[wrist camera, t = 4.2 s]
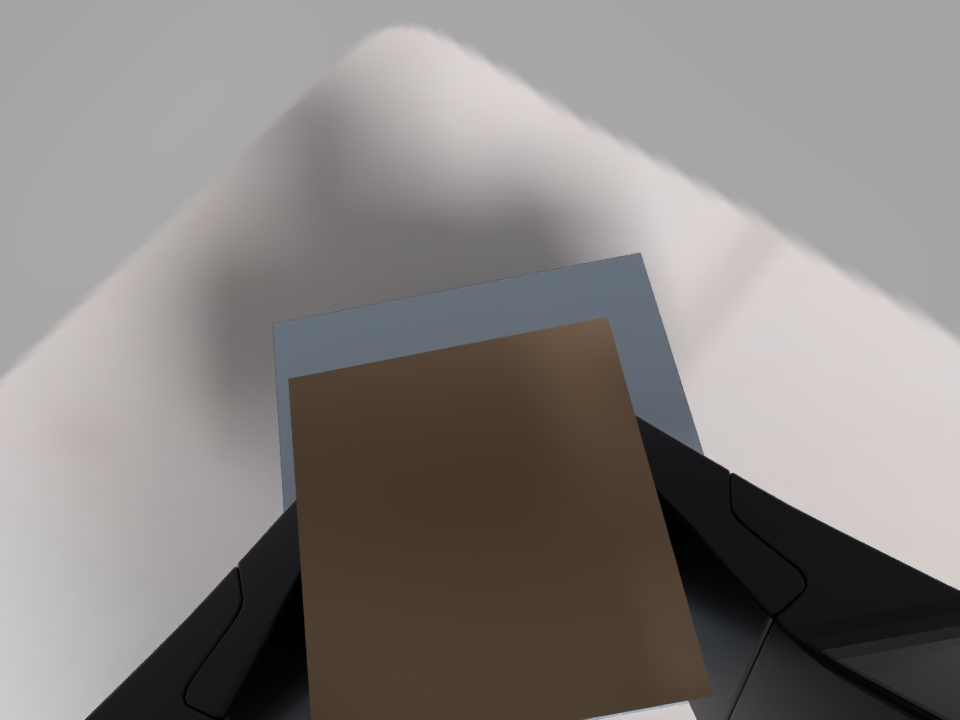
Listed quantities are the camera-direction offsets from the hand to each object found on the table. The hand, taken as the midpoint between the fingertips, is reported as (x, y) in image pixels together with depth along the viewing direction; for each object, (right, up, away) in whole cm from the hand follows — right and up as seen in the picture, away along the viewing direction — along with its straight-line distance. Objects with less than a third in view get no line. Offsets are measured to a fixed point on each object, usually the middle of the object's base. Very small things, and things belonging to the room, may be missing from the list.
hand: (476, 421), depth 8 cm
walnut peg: (0, -3, +5) cm, 5 cm away
